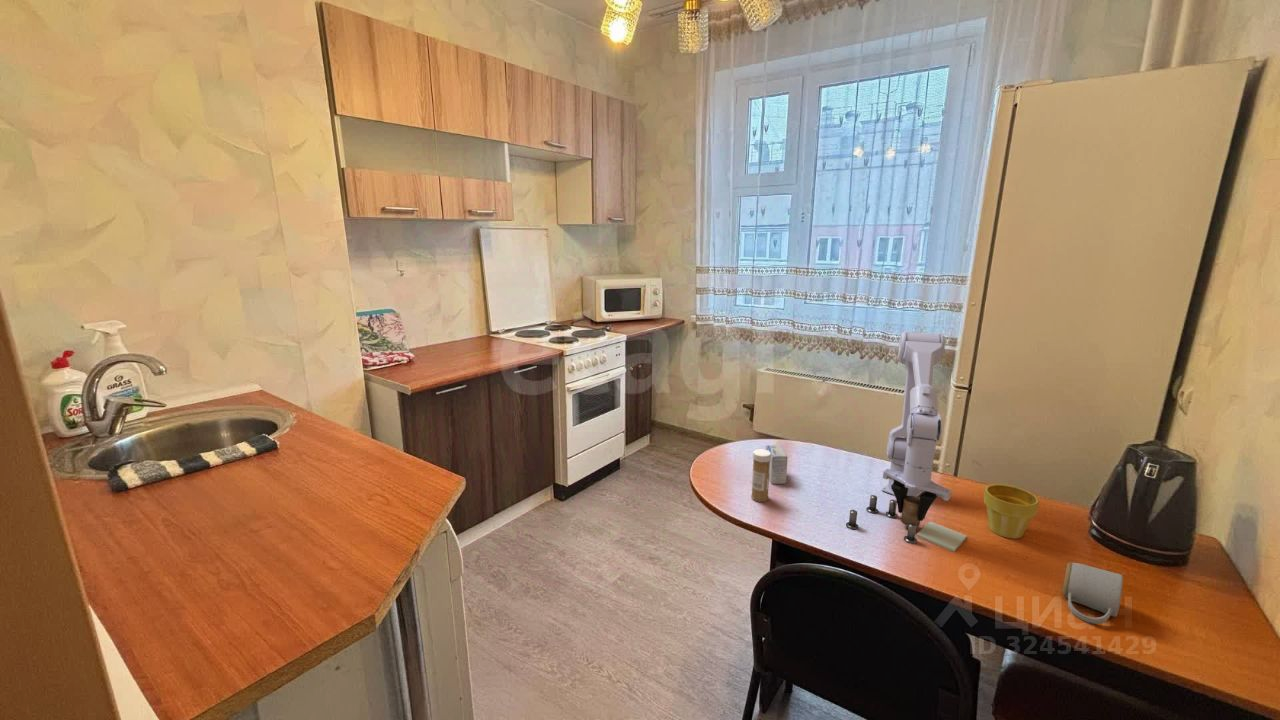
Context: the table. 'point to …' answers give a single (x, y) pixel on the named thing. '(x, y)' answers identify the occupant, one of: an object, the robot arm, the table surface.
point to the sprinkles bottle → (760, 475)
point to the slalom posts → (891, 514)
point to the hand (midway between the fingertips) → (911, 515)
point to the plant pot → (1009, 509)
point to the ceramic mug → (1093, 590)
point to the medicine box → (777, 464)
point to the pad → (941, 536)
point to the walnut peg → (910, 510)
